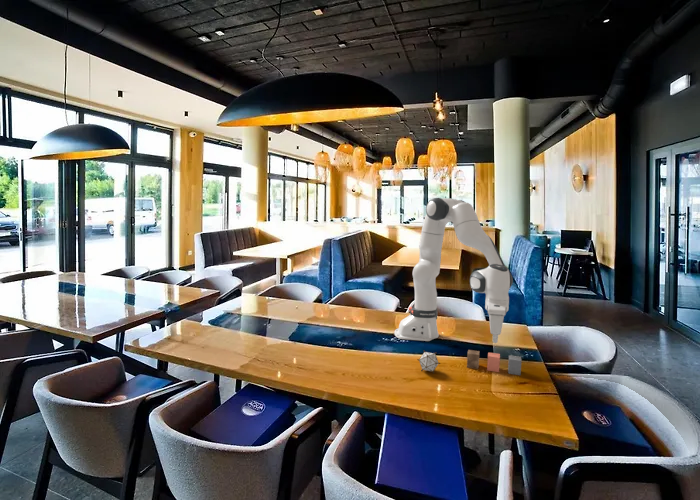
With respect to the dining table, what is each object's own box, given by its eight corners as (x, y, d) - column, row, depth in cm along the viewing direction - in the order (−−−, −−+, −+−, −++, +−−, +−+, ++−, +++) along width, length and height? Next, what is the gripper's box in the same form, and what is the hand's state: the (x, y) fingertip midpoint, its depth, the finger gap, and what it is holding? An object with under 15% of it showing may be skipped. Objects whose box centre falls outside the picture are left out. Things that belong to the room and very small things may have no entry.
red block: (487, 370, 160) (487, 356, 159) (487, 366, 164) (488, 352, 163) (499, 372, 158) (499, 357, 158) (499, 367, 162) (499, 353, 162)
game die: (423, 378, 160) (413, 355, 164) (442, 371, 160) (432, 347, 164) (424, 376, 152) (414, 351, 156) (445, 368, 152) (434, 344, 156)
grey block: (508, 373, 157) (509, 359, 156) (508, 369, 161) (508, 355, 161) (520, 375, 156) (521, 360, 155) (520, 370, 160) (520, 356, 159)
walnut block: (466, 367, 163) (467, 353, 162) (467, 363, 167) (468, 349, 166) (478, 369, 161) (478, 355, 160) (478, 364, 165) (479, 351, 165)
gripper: (489, 298, 169) (487, 330, 170) (487, 310, 150) (486, 345, 151) (504, 300, 167) (503, 331, 168) (505, 312, 148) (503, 347, 149)
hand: (495, 338), depth 160 cm, fingers open, 8 cm apart
